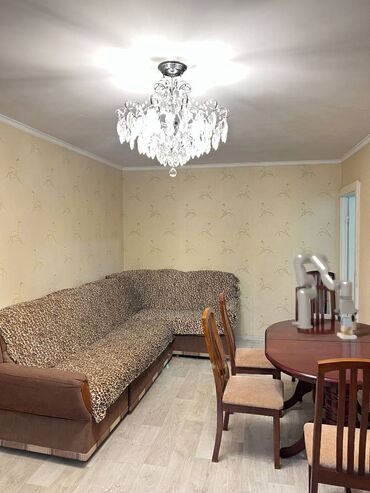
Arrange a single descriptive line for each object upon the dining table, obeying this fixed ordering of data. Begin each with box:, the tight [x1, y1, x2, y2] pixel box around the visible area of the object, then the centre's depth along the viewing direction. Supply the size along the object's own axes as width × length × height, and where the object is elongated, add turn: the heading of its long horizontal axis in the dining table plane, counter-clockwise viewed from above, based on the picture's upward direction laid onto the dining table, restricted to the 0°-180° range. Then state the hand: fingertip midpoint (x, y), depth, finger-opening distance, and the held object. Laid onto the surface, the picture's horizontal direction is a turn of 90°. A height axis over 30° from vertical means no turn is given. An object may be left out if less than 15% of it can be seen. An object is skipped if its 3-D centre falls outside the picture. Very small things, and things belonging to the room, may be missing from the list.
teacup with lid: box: [339, 314, 357, 331], centre depth 288 cm, size 12×9×12 cm
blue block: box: [341, 316, 352, 327], centre depth 265 cm, size 5×5×6 cm
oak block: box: [340, 324, 354, 336], centre depth 265 cm, size 6×6×6 cm
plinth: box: [336, 332, 358, 340], centre depth 265 cm, size 10×10×2 cm
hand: (346, 321), depth 265 cm, fingers open, 9 cm apart
